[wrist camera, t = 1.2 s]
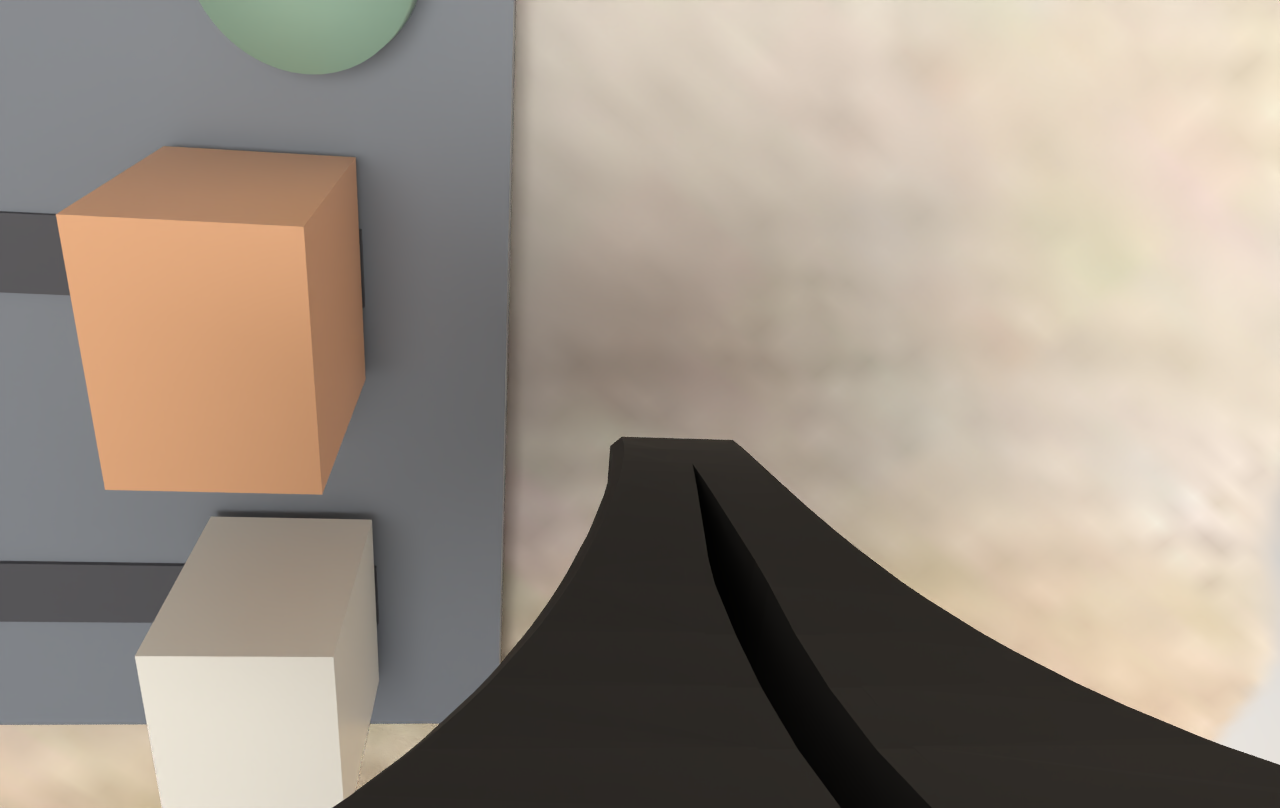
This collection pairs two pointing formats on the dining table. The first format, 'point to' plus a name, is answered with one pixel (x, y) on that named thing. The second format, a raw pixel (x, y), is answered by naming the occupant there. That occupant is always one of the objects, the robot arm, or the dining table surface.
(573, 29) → the dining table surface
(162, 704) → the ivory slider
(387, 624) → the control board
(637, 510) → the robot arm
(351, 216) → the terracotta slider
